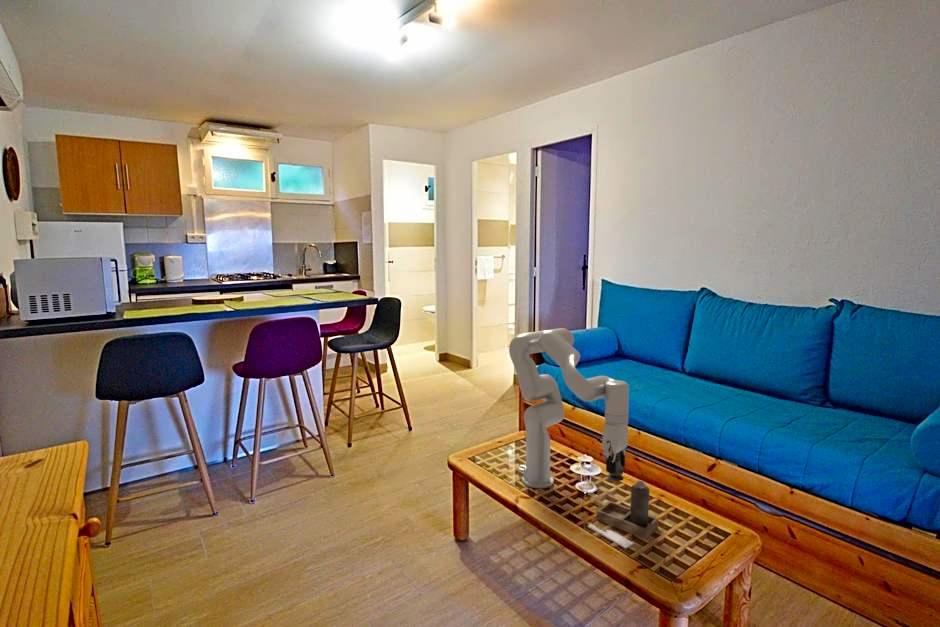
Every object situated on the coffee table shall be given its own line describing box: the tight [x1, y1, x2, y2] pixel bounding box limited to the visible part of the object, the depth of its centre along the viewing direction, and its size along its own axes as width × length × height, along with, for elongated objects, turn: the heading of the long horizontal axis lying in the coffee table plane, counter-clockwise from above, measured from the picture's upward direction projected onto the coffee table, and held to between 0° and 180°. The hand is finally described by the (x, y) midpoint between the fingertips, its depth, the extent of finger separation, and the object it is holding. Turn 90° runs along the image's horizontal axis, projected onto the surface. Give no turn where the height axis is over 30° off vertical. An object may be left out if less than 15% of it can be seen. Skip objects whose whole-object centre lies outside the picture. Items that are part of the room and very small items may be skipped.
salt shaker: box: [607, 450, 626, 482], centre depth 165 cm, size 6×6×12 cm
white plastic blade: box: [587, 523, 635, 550], centre depth 158 cm, size 5×15×1 cm, turn 36°
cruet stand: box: [596, 480, 659, 540], centre depth 164 cm, size 17×9×17 cm, turn 47°
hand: (615, 468), depth 166 cm, fingers closed on salt shaker, 5 cm apart
